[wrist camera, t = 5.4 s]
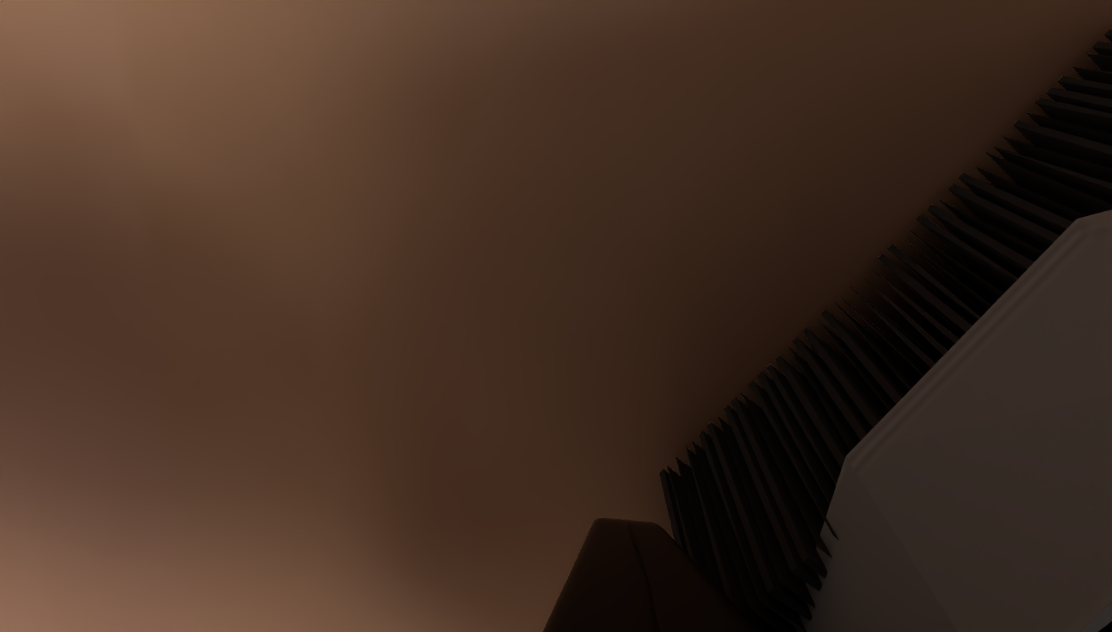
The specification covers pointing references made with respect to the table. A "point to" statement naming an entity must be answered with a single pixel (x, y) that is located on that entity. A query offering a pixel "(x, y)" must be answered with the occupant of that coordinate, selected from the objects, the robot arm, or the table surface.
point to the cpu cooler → (940, 424)
